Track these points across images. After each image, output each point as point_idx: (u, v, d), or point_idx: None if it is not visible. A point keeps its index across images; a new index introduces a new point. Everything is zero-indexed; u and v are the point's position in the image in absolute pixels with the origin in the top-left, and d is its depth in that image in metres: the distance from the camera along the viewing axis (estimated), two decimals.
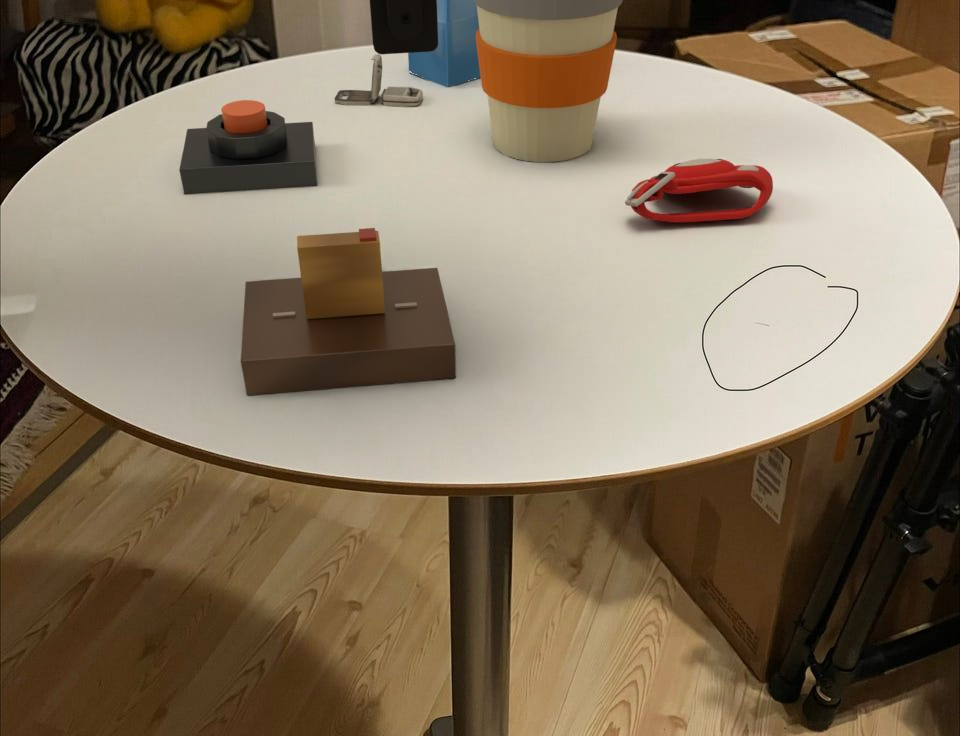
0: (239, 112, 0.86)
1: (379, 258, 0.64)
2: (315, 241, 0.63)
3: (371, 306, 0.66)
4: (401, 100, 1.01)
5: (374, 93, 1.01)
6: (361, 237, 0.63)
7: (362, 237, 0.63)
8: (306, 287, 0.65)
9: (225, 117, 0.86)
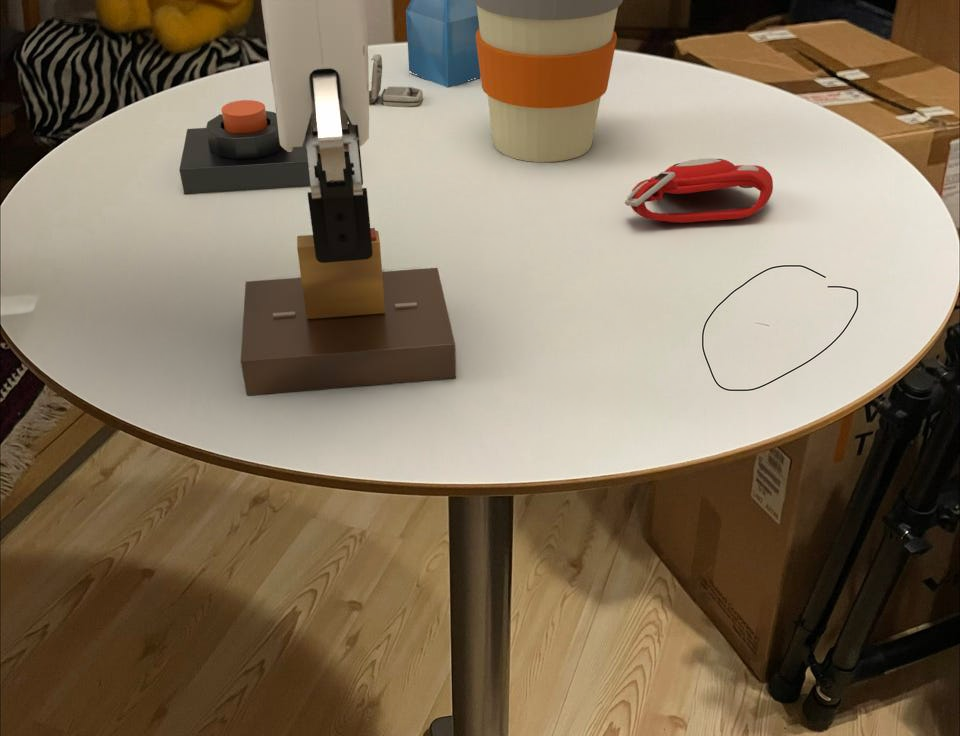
0: (239, 112, 0.86)
1: (379, 258, 0.64)
2: None
3: (371, 306, 0.66)
4: (401, 100, 1.01)
5: (374, 93, 1.01)
6: None
7: None
8: (306, 287, 0.65)
9: (225, 117, 0.86)
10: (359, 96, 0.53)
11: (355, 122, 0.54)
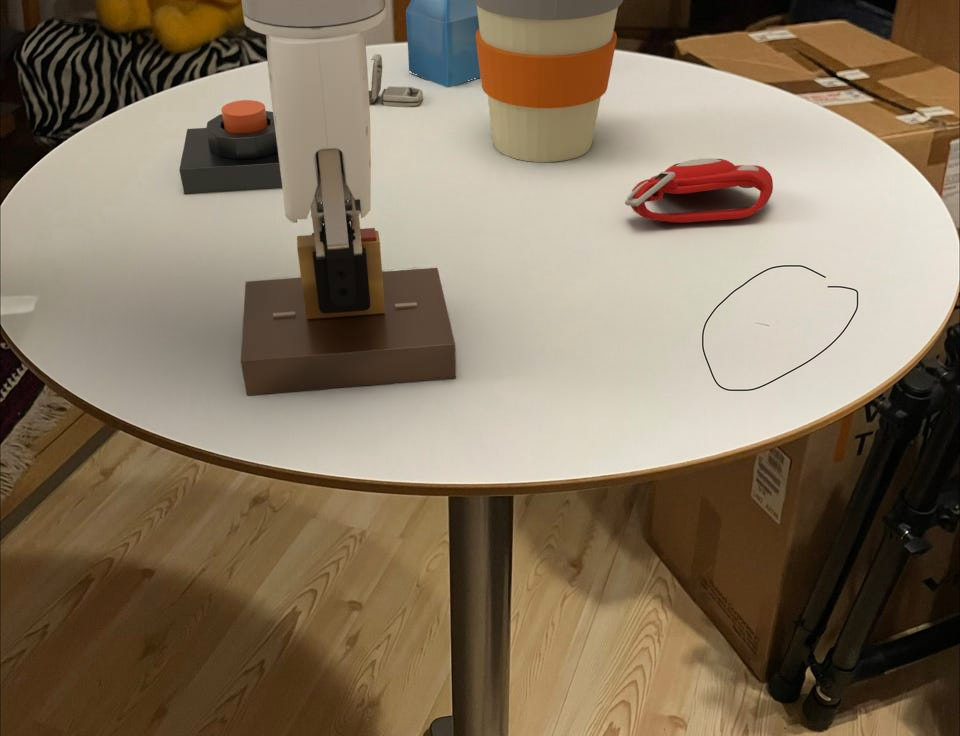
0: (239, 112, 0.86)
1: (379, 258, 0.64)
2: None
3: (371, 306, 0.66)
4: (401, 100, 1.01)
5: (374, 93, 1.01)
6: (361, 237, 0.63)
7: (362, 237, 0.63)
8: (306, 287, 0.65)
9: (225, 117, 0.86)
10: (362, 173, 0.56)
11: None
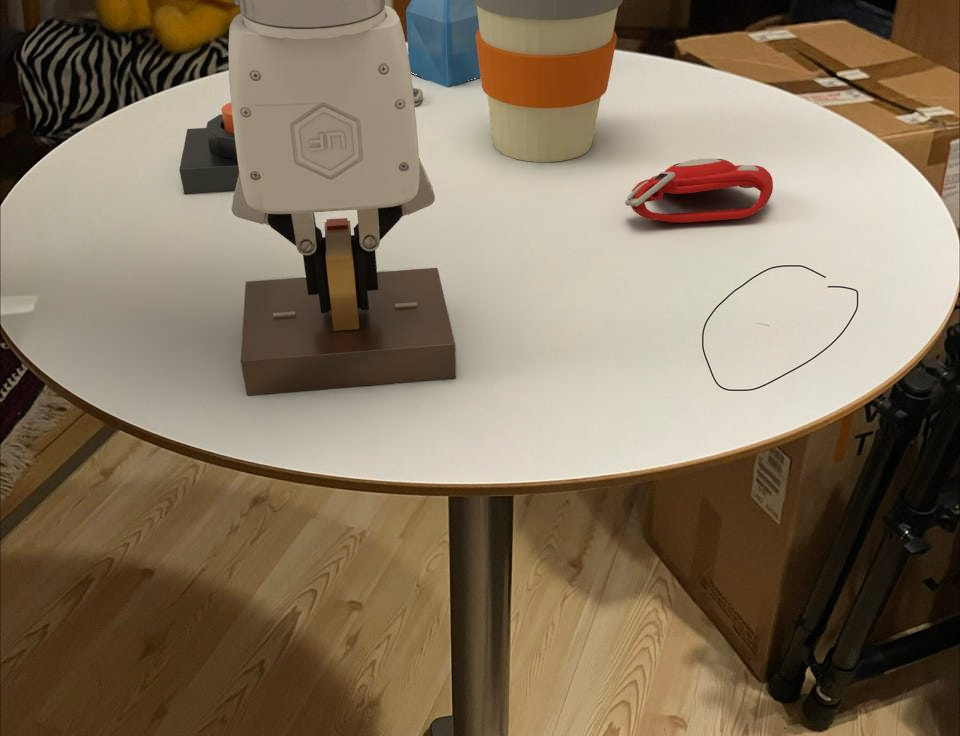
0: None
1: None
2: (340, 249, 0.63)
3: None
4: None
5: None
6: (346, 224, 0.65)
7: (345, 223, 0.65)
8: None
9: (225, 117, 0.86)
10: None
11: None
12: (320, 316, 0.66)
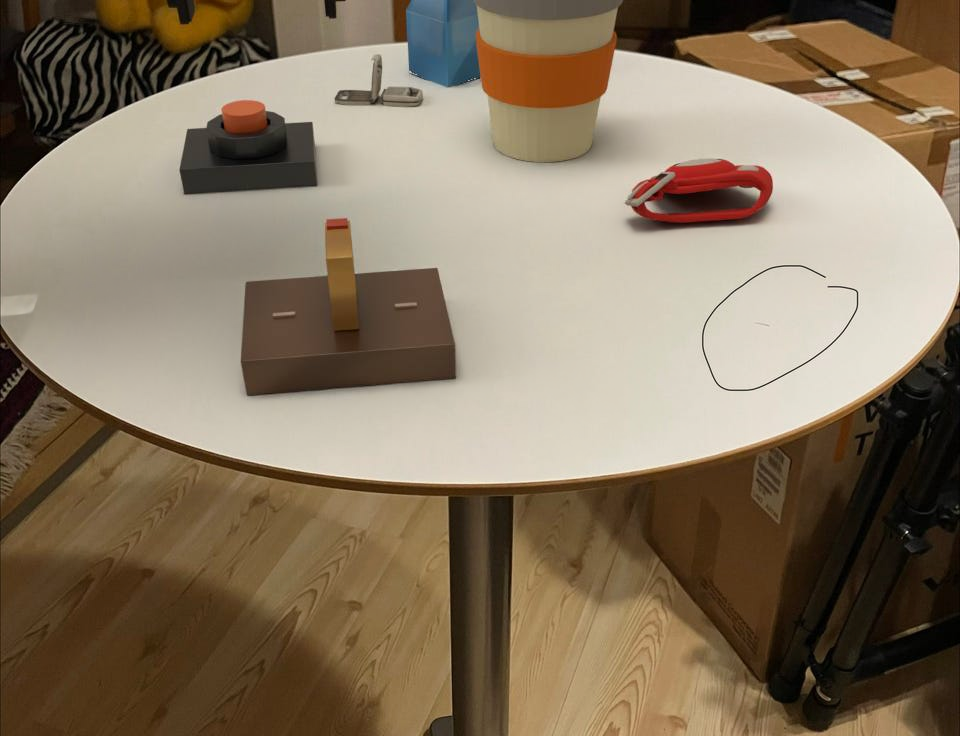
0: (239, 112, 0.86)
1: (351, 237, 0.66)
2: (340, 249, 0.63)
3: None
4: (401, 100, 1.01)
5: (374, 93, 1.01)
6: (346, 224, 0.65)
7: (345, 223, 0.65)
8: (356, 295, 0.64)
9: (225, 117, 0.86)
10: None
11: None
12: (320, 316, 0.66)
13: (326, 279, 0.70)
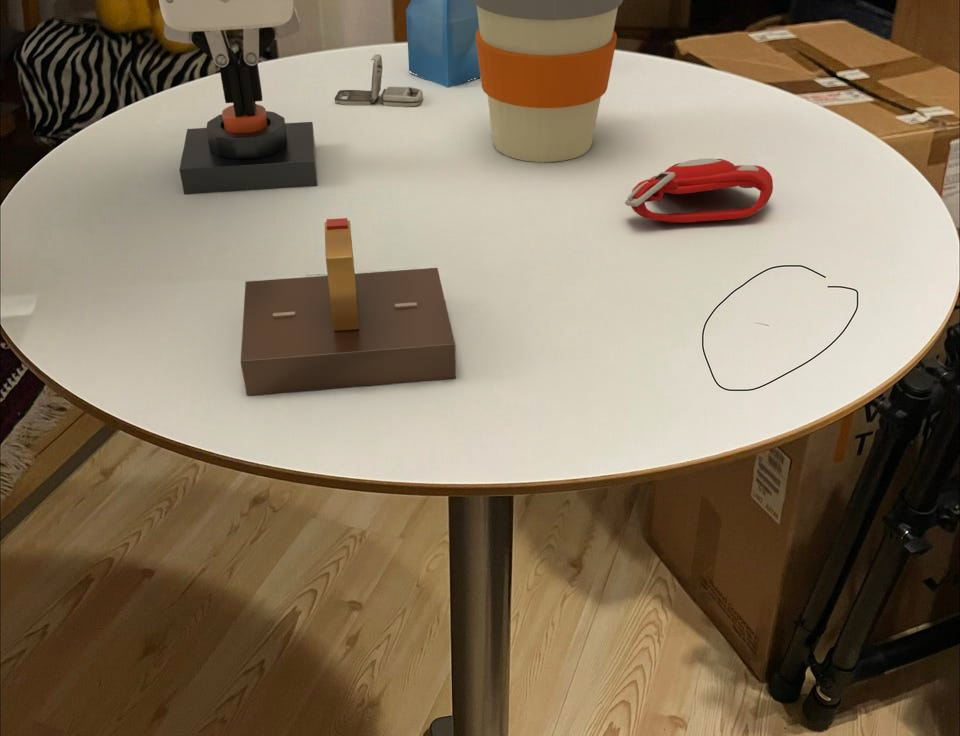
0: None
1: (351, 237, 0.66)
2: (340, 249, 0.63)
3: None
4: (401, 100, 1.01)
5: (374, 93, 1.01)
6: (346, 224, 0.65)
7: (345, 223, 0.65)
8: (356, 295, 0.64)
9: (226, 120, 0.87)
10: None
11: None
12: (320, 316, 0.66)
13: (326, 279, 0.70)
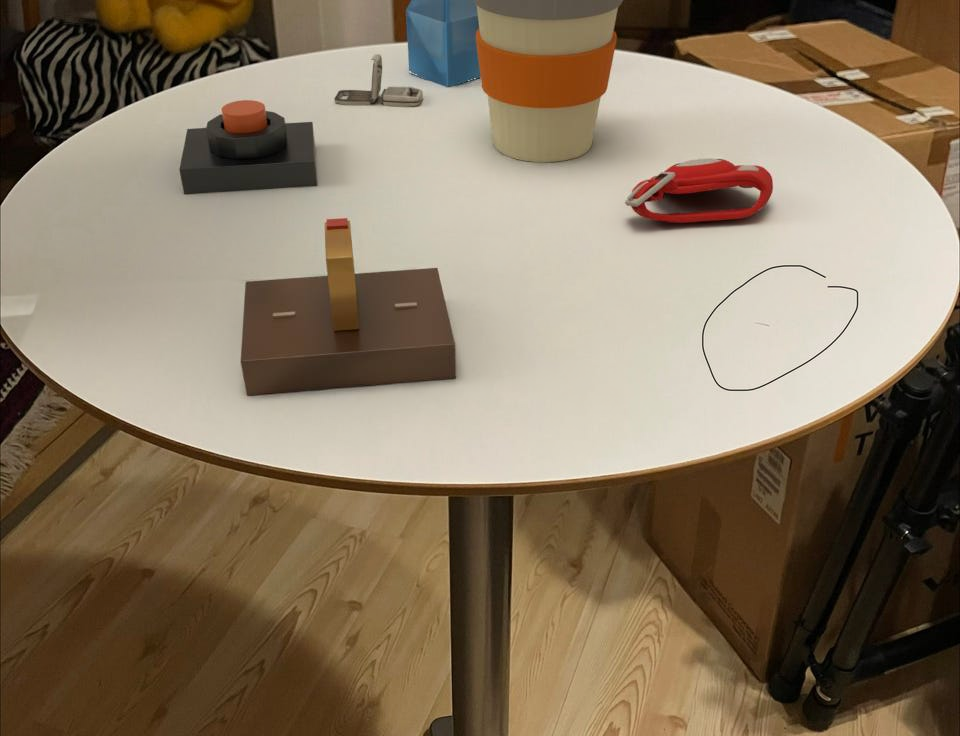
0: (239, 112, 0.86)
1: (351, 237, 0.66)
2: (340, 249, 0.63)
3: None
4: (401, 100, 1.01)
5: (374, 93, 1.01)
6: (346, 224, 0.65)
7: (345, 223, 0.65)
8: (356, 295, 0.64)
9: (225, 117, 0.86)
10: None
11: None
12: (320, 316, 0.66)
13: (326, 279, 0.70)
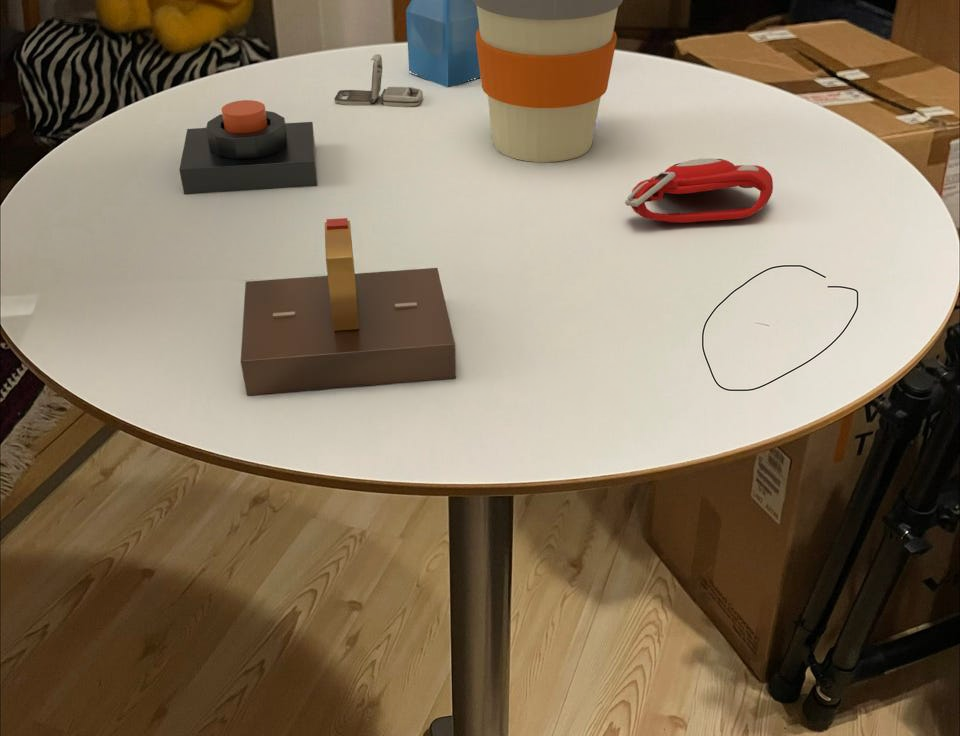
0: (239, 112, 0.86)
1: (351, 237, 0.66)
2: (340, 249, 0.63)
3: None
4: (401, 100, 1.01)
5: (374, 93, 1.01)
6: (346, 224, 0.65)
7: (345, 223, 0.65)
8: (356, 295, 0.64)
9: (225, 117, 0.86)
10: None
11: None
12: (320, 316, 0.66)
13: (326, 279, 0.70)
